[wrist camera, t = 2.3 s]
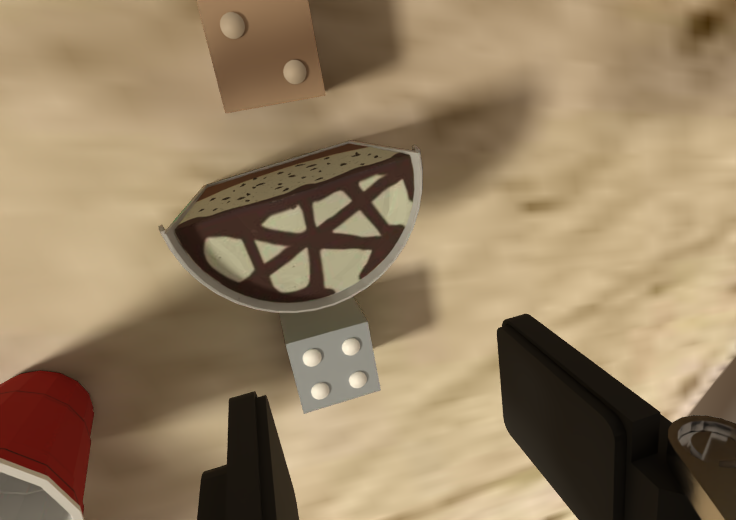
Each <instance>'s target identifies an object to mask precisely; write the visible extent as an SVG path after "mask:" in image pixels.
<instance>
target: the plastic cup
mask: <svg viewBox="0 0 736 520" xmlns="http://www.w3.org/2000/svg"><path fill="white" fill-rule="evenodd" d="M93 417H94V412H93V405H92V402H91V399H90V396H89V393H88V392H87V391H86V390H85V389H84V388H83V387H82V386H81V385H80V384H79V383H78V381H76V380H74V379H72V378H69V377H67V376H65V375H63V374H61V373H56V372H48V371H41V370H40V371H34V372H28V373H23V374H19V375H17V376H15V377H13V378H11V379H9V380H7V381H6V382H4V383H2V384H0V520H84V517H83V511H84V505H83V496H84V488H85V481H86V474H87V467H88V460H89V453H90V445H91V439H90V434H91V428H92V423H93Z"/></svg>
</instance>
